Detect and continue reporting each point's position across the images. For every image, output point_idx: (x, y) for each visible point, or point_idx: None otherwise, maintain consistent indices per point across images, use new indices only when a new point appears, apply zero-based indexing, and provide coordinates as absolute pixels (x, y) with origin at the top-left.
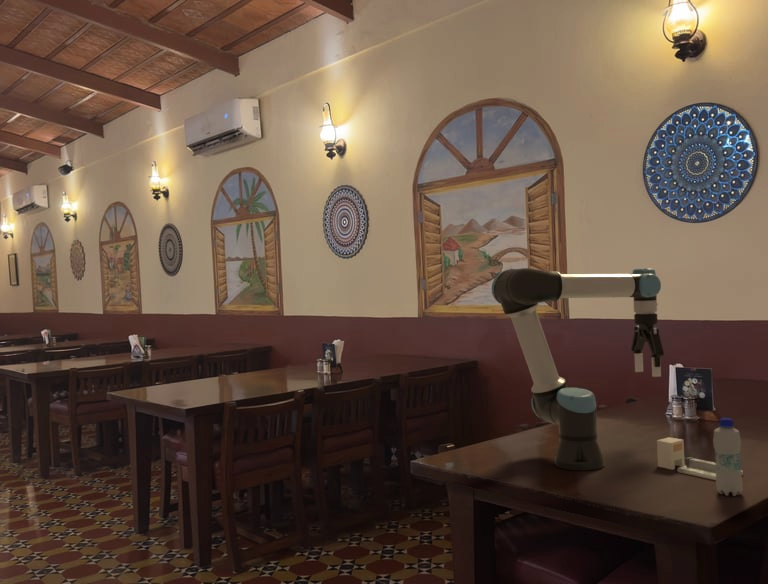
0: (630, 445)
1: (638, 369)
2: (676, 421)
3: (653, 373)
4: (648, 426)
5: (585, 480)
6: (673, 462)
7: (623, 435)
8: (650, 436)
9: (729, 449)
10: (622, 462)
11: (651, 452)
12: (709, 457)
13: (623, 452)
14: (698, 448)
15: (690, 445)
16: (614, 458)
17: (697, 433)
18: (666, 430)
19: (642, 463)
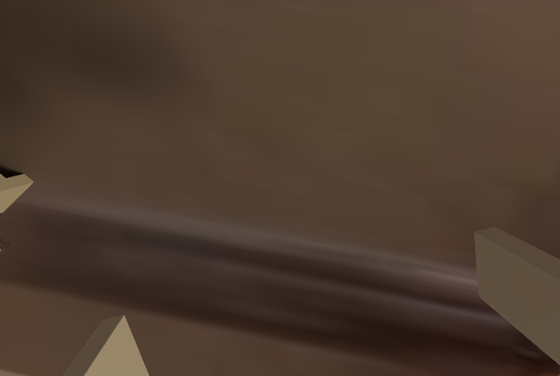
0: (251, 110)
1: (492, 266)
2: None
3: (87, 345)
4: (502, 214)
5: None
6: None
7: (393, 113)
8: (365, 193)
9: None
10: (22, 41)
11: (158, 155)
12: (105, 290)
13: (156, 69)
14: (206, 286)
15: (242, 275)
16: (73, 24)
17: (383, 321)
18: (436, 253)
19: (17, 102)
